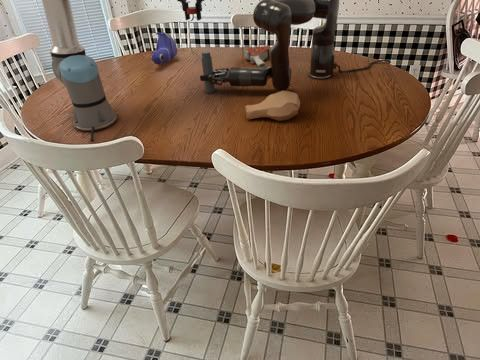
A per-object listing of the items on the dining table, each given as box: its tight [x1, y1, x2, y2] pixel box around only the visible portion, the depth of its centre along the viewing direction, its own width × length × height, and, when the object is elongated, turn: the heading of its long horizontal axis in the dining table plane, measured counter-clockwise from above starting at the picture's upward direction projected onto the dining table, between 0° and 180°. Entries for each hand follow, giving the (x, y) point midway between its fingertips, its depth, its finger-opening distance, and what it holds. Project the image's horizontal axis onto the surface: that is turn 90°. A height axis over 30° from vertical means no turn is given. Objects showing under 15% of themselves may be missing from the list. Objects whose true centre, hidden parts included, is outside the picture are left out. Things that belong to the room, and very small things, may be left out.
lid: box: [187, 6, 196, 15], centre depth 149 cm, size 5×5×2 cm
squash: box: [244, 90, 301, 122], centre depth 127 cm, size 11×20×9 cm, turn 92°
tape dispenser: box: [243, 45, 270, 68], centre depth 179 cm, size 18×5×20 cm
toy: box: [150, 31, 178, 69], centre depth 181 cm, size 10×17×25 cm
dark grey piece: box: [200, 50, 216, 94], centre depth 147 cm, size 4×4×16 cm
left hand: (193, 19), depth 151 cm, fingers closed on lid, 5 cm apart
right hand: (202, 76), depth 149 cm, fingers closed on dark grey piece, 4 cm apart
